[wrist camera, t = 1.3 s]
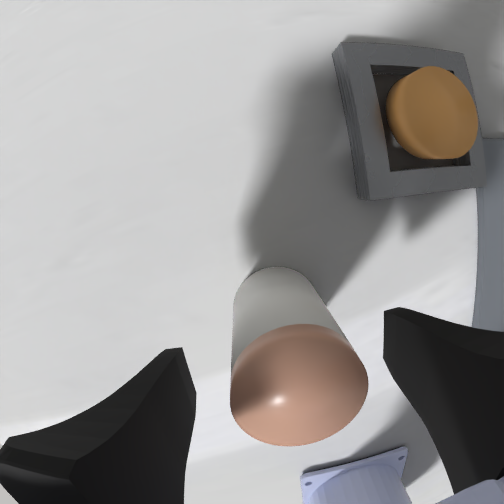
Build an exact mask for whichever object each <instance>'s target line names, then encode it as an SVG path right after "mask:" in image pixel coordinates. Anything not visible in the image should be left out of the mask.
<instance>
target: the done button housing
mask: <svg viewBox="0 0 504 504" xmlns="http://www.w3.org/2000/svg"><path fill="white" fill-rule="evenodd" d="M332 57H333V61H334V65H335V69H336V74H337V78H338V83H339V87H340V92H341V97H342V102H343V107H344V112H345V117H346V123H347V128H348V134H349V140H350V146H351V152H352V158H353V165H354V172H355V179H356V187H357V195H358V198H359V199H364V200H369V201H373V200H380V199H387V198H395V197H402V196H410V195H418V194H426V193H434V192H443V191H451V190H460V189H469V188H478V187H487V178H486V167H485V158H484V150H483V142H482V135H481V129H480V123H479V118H478V131H477V136H476V139H475V142H474V144H473V146H472V147H471V149H470V150H469V151H468V152H467V153H466V154H464V155H463V156H461V157H458V158H453V163H454V165H453V166H439V167H426V168H414V169H403V170H392V171H390V167H389V160H388V153H387V146H386V140H385V134H384V128H383V123H382V117H381V112H380V107H379V102H378V97H377V92H376V88H375V83H374V79H373V75H372V74H393V75H409V74H411V73H413V72H415V71H417V70H418V69H420V68H423V67H427V66H436V67H440V68H443V69H445V70H447V71H449V72H451V73H452V74H454V75H455V76H456V77H457V78H458V79H459V80H460V81H461V82H462V83H463V84H464V85H465V87H466V88H467V90H468V91H469V93H470V95H471V97H472V99H473V101H474V104H475V107H476V102H475V98H474V93H473V89H472V84H471V80H470V76H469V73H468V69H467V65H466V62H465V58H464V55H463V54H462V53H457V52H451V51H445V50H439V49H432V48H424V47H416V46H406V45H395V44H381V43H355V42H341V43H340V44H339V45H338V47H337V48H336V49H335V51H334V52H333V53H332ZM476 111H477V107H476ZM477 117H478V112H477Z"/></svg>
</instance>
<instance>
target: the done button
mask: <svg viewBox="0 0 504 504" xmlns="http://www.w3.org/2000/svg"><path fill="white" fill-rule="evenodd" d="M386 117H387V121H388V125H389V128H390V130H391V132H392V134H393V136H394V137H395V139H396V140H397V142H398V143H399V144H400V145H401V146H402V148H403V149H405V150H406V151H407V152H408V153H410V154H411V155H413V156H415V157H418V158H421V159H453V158H458V157H461V156H463V155H464V154H466V153H467V152H468V151H469V150H470V149H471V147H472V146H473V144H474V142H475V139H476V136H477V131H478V117H477V111H476V107H475V104H474V101H473V99H472V97H471V95H470V93H469V91H468V90H467V88H466V87H465V85H464V84H463V83H462V82H461V81H460V80H459V79H458V78H457V77H456V76H455V75H454V74H452V73H451V72H449V71H447V70H445V69H443V68H440V67H436V66H427V67H423V68H420V69H418V70H417V71H415V72H413V73H411V74H409V75H407V76H405V77H404V78H402V79H400V80H398V81H397V82H396V83H395V84H394V85H393V86H392V87H391V89H390V91H389V93H388V96H387V100H386Z"/></svg>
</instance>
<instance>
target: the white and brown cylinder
mask: <svg viewBox="0 0 504 504" xmlns="http://www.w3.org/2000/svg"><path fill="white" fill-rule="evenodd" d="M367 392H368V376H367V372H366V369H365V367H364V365H363V363H362V362H361V360H360V359H359V357H358V356H357V354H356V352H355V351H354V349H353V348H352V346H351V344H350V343H349V341H348V340H347V338H346V337H345V335H344V333H343V332H342V330H341V329H340V327H339V326H338V324H337V323H336V321H335V319H334V318H333V316H332V315H331V313H330V312H329V310H328V309H327V307H326V306H325V304H324V303H323V301H322V299H321V298H320V296H319V295H318V293H317V292H316V290H315V289H314V287H313V286H312V284H311V283H310V281H309V280H308V279H307V278H306V277H305V276H304V275H302V274H301V273H299V272H298V271H295V270H293V269H290V268H286V267H269V268H265V269H262V270H259V271H257V272H255V273H253V274H252V275H250V276H249V277H248V278H247V279H246V280H245V281H244V282H243V283H242V284H241V286H240V287H239V289H238V291H237V293H236V296H235V299H234V307H233V332H232V358H231V388H230V407H231V412H232V415H233V417H234V419H235V421H236V422H237V424H238V425H239V426H240V428H241V429H242V430H243V431H245V432H246V433H247V434H248V435H250V436H251V437H253V438H255V439H257V440H259V441H262V442H265V443H268V444H272V445H278V446H300V445H306V444H310V443H314V442H317V441H320V440H323V439H325V438H327V437H330V436H331V435H333V434H335V433H337V432H338V431H340V430H341V429H343V428H344V427H345V426H346V425H347V424H349V423H350V422H351V421H352V420H353V418H354V417H355V416H356V415H357V414H358V412H359V411H360V409H361V407H362V406H363V404H364V401H365V399H366V396H367Z"/></svg>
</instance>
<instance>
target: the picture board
mask: <svg viewBox="0 0 504 504" xmlns="http://www.w3.org/2000/svg"><path fill="white" fill-rule="evenodd" d="M482 142H483V150H484V158H485V167H486V178H487V187H478V188H476V191H477V210H478V263H477V282H476V295H475V305H474V314H473V323H472V327H473V328H478V329H485V330H491V331H501V332H504V139H486V138H482Z"/></svg>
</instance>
